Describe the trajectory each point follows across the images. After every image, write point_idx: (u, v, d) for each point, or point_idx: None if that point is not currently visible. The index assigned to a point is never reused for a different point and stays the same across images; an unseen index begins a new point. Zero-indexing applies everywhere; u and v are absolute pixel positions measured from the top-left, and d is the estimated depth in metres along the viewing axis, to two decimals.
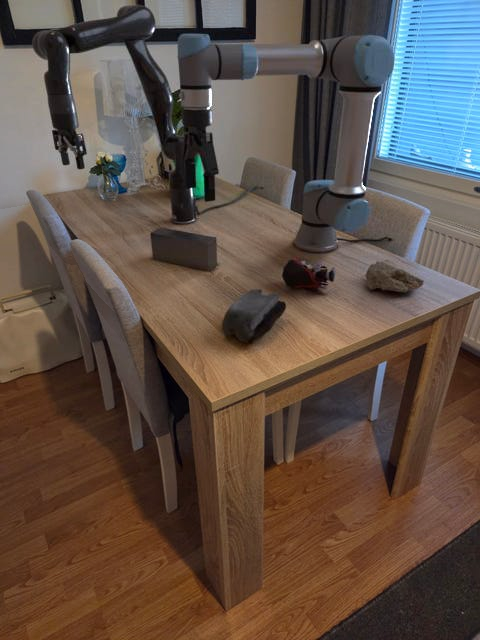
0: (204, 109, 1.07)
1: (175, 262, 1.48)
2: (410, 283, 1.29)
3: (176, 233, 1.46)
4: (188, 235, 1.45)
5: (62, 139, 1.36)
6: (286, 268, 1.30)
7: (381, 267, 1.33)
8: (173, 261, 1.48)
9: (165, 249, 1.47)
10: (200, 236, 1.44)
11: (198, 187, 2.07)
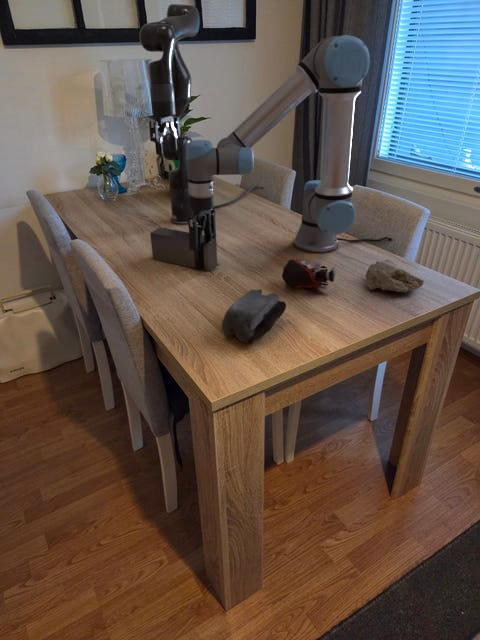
0: None
1: (175, 262, 1.48)
2: (410, 283, 1.29)
3: (176, 233, 1.46)
4: (188, 235, 1.45)
5: None
6: (286, 268, 1.30)
7: (381, 267, 1.33)
8: (173, 261, 1.48)
9: (165, 249, 1.47)
10: None
11: None
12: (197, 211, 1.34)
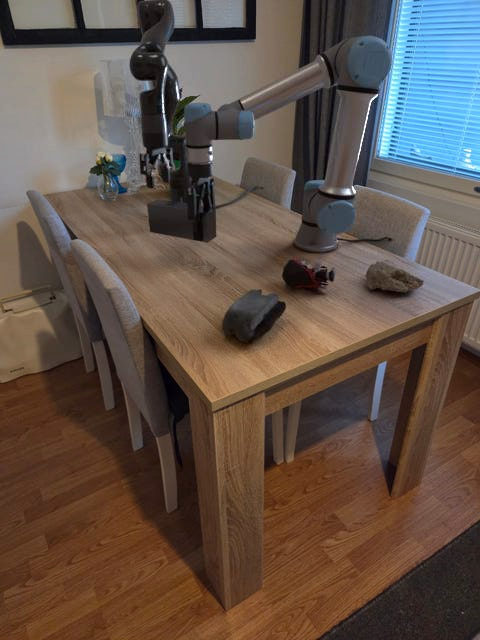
0: None
1: (173, 234, 1.43)
2: (410, 283, 1.29)
3: (174, 204, 1.41)
4: None
5: None
6: (286, 268, 1.30)
7: (381, 267, 1.33)
8: (170, 233, 1.43)
9: (163, 220, 1.42)
10: None
11: None
12: (195, 178, 1.29)
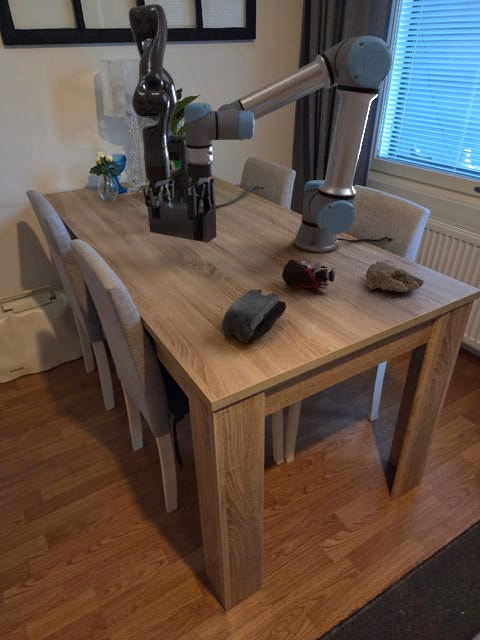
0: None
1: (173, 234, 1.43)
2: (410, 283, 1.29)
3: (174, 204, 1.41)
4: None
5: None
6: (286, 268, 1.30)
7: (381, 267, 1.33)
8: (170, 233, 1.43)
9: (163, 220, 1.42)
10: None
11: None
12: (195, 178, 1.29)
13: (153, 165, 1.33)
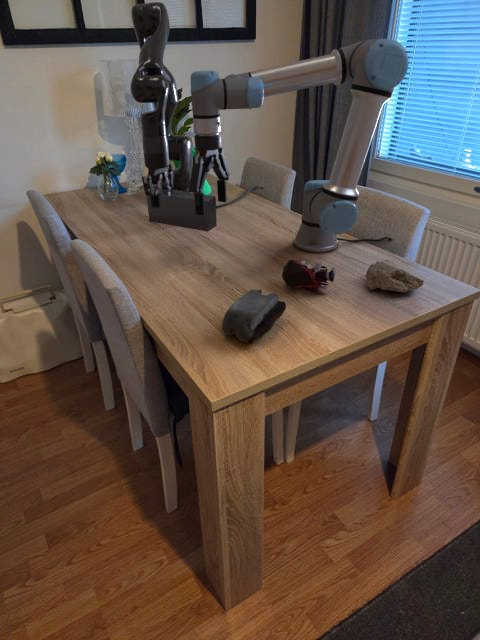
0: None
1: (172, 223, 1.41)
2: (410, 283, 1.29)
3: (173, 192, 1.39)
4: (186, 194, 1.38)
5: None
6: (286, 268, 1.30)
7: (381, 267, 1.33)
8: (170, 222, 1.41)
9: (162, 209, 1.40)
10: None
11: None
12: None
13: (152, 152, 1.31)
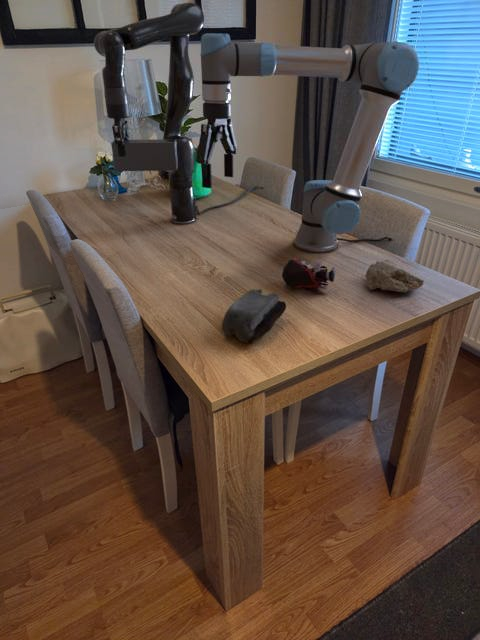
0: None
1: (140, 169, 1.58)
2: (410, 283, 1.29)
3: (136, 140, 1.56)
4: (149, 140, 1.56)
5: None
6: (286, 268, 1.30)
7: (381, 267, 1.33)
8: (138, 168, 1.58)
9: (129, 157, 1.56)
10: (161, 139, 1.57)
11: (198, 187, 2.07)
12: None
13: (118, 103, 1.46)
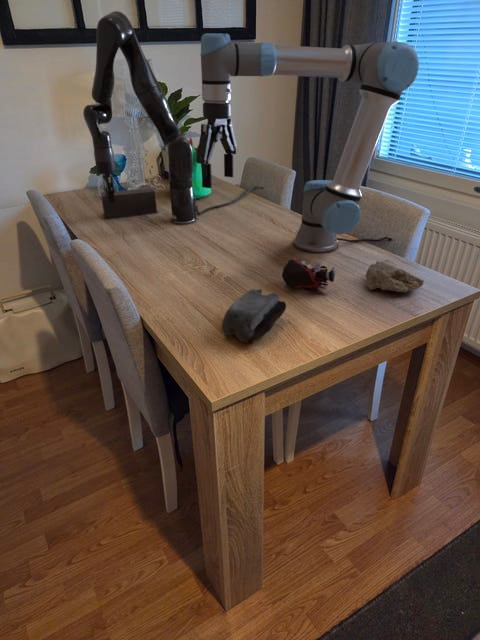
0: None
1: (127, 215, 1.89)
2: (410, 283, 1.29)
3: (121, 192, 1.87)
4: (131, 191, 1.89)
5: None
6: (286, 268, 1.30)
7: (381, 267, 1.33)
8: (125, 215, 1.89)
9: (117, 206, 1.86)
10: (140, 189, 1.91)
11: (198, 187, 2.07)
12: None
13: (109, 160, 1.75)
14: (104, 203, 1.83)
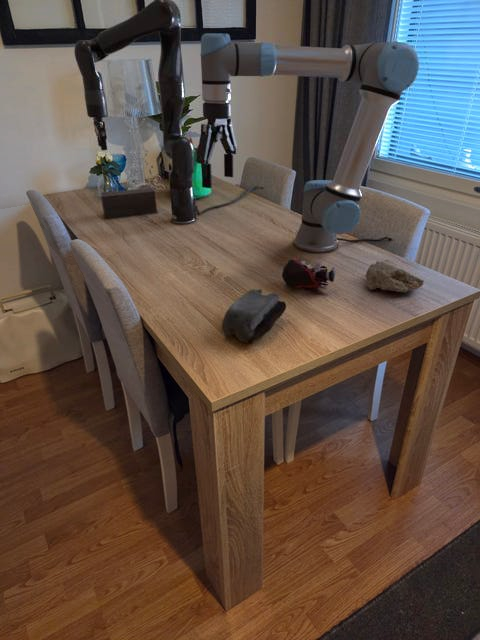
0: None
1: (127, 215, 1.89)
2: (410, 283, 1.29)
3: (121, 192, 1.87)
4: (131, 191, 1.89)
5: None
6: (286, 268, 1.30)
7: (381, 267, 1.33)
8: (125, 215, 1.89)
9: (117, 206, 1.86)
10: (140, 189, 1.91)
11: (198, 187, 2.07)
12: None
13: (100, 103, 1.65)
14: (104, 203, 1.83)
